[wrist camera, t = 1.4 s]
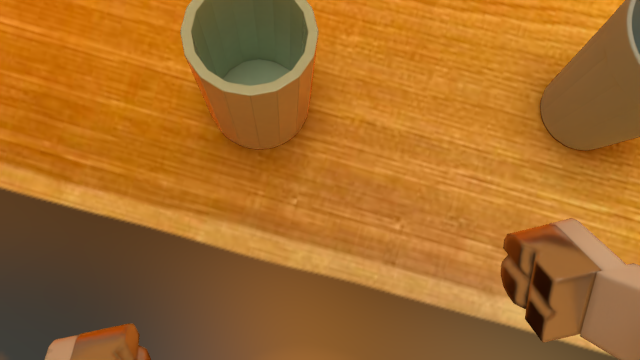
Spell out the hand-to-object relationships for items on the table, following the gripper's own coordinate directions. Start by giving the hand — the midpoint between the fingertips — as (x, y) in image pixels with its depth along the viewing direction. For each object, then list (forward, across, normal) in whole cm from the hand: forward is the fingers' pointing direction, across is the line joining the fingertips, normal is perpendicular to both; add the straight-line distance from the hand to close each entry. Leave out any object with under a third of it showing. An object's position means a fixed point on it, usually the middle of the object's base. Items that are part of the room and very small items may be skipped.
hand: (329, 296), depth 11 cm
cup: (+19, -21, +9) cm, 30 cm away
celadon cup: (+22, 0, +5) cm, 23 cm away
